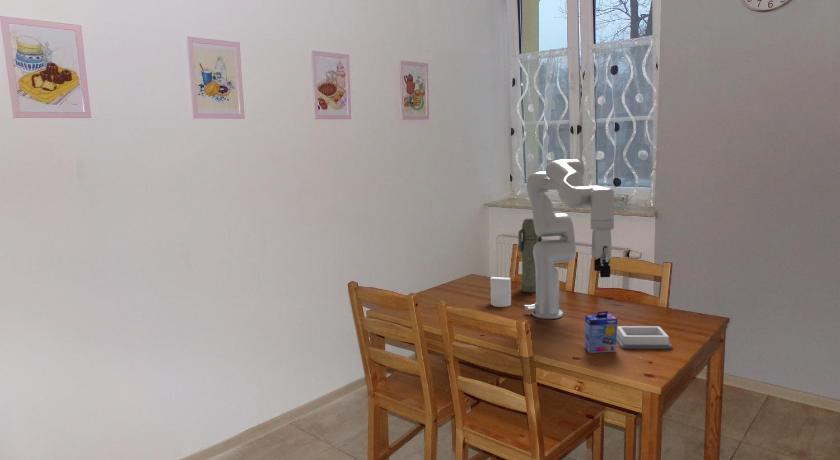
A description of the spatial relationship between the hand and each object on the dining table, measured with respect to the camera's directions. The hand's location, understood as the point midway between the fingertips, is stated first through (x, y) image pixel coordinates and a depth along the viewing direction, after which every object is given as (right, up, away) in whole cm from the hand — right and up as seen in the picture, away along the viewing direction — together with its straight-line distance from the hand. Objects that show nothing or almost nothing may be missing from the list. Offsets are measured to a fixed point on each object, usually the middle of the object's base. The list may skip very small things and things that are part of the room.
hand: (602, 273), depth 195 cm
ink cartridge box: (+1, -27, +3) cm, 27 cm away
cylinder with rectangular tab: (-26, -19, +62) cm, 70 cm away
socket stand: (+17, -25, +9) cm, 32 cm away
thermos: (-8, -15, +83) cm, 85 cm away
